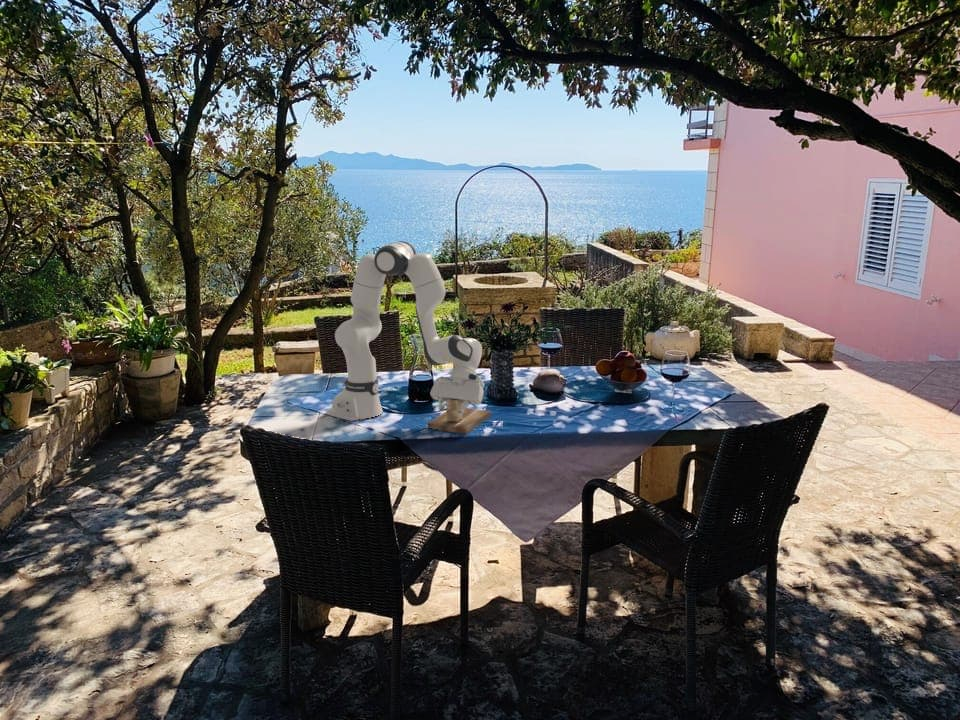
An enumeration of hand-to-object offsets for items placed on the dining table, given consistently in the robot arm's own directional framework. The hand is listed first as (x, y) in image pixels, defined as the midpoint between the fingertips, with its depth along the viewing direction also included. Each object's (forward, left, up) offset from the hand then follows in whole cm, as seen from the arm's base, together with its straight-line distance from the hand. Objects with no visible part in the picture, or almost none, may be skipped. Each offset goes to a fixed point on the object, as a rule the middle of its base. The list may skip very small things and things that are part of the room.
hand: (450, 411), depth 252 cm
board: (0, +7, -7) cm, 10 cm away
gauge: (0, +3, -4) cm, 5 cm away
